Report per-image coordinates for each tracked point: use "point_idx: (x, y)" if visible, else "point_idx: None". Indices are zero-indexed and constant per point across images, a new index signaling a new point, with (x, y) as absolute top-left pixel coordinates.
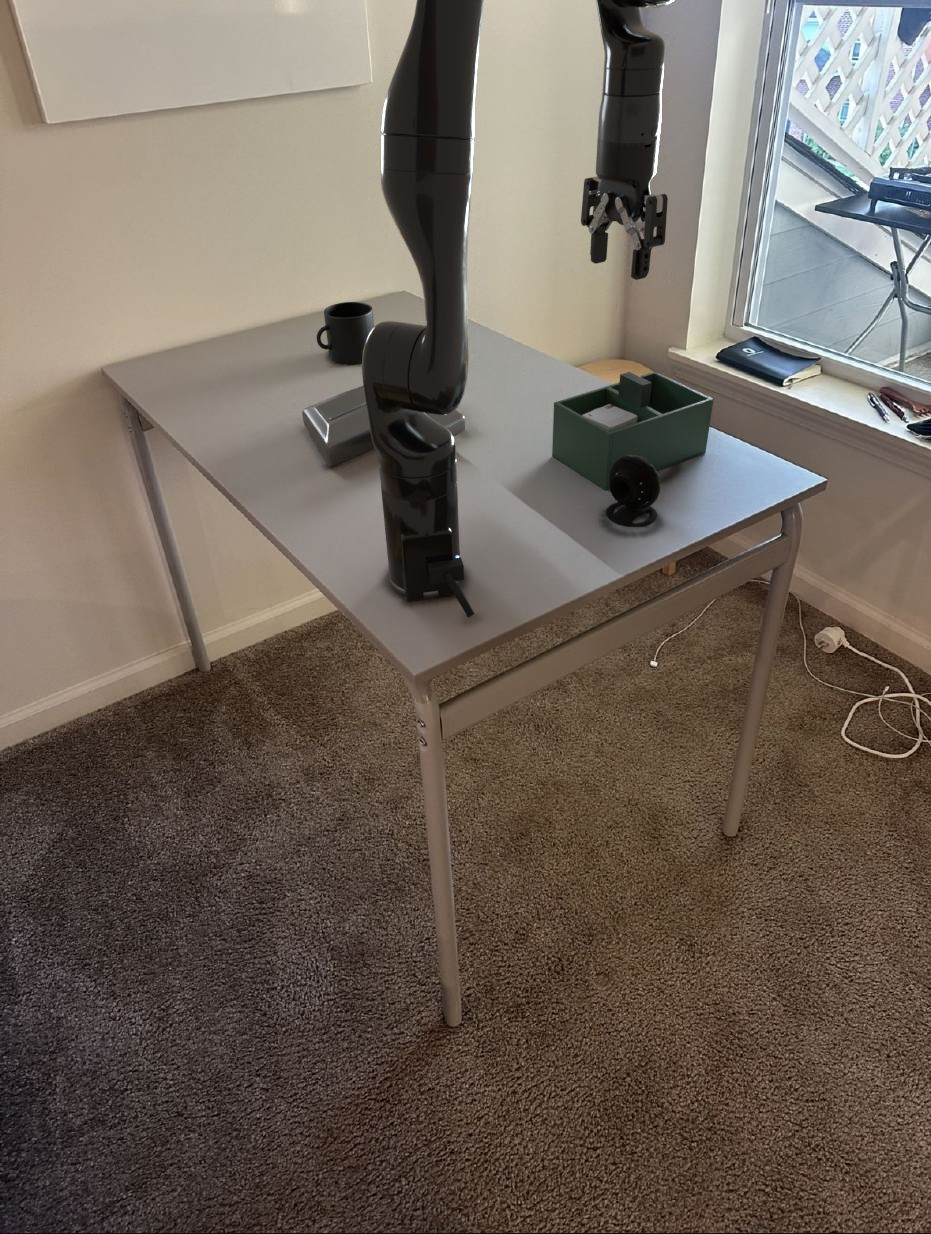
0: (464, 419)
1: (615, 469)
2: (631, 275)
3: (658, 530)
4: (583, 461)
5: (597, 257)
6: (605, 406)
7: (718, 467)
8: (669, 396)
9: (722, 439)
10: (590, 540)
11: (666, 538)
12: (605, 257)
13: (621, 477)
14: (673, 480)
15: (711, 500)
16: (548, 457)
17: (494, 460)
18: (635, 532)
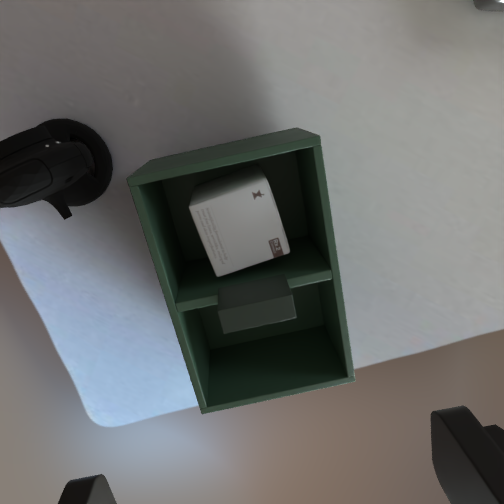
0: (492, 2)
1: (54, 147)
2: (91, 484)
3: None
4: (209, 149)
5: (446, 448)
6: (281, 240)
7: (181, 352)
8: (296, 368)
9: None
10: (28, 70)
11: None
12: (442, 484)
13: (8, 139)
14: None
15: (95, 299)
16: (317, 131)
17: (352, 27)
18: None
